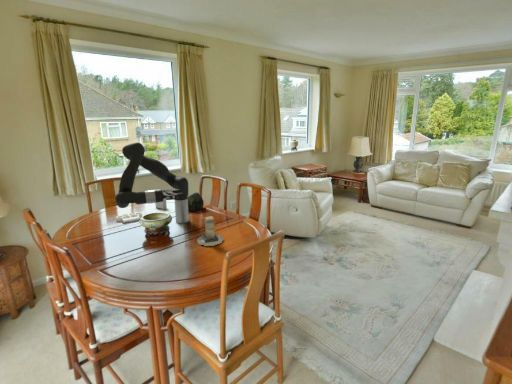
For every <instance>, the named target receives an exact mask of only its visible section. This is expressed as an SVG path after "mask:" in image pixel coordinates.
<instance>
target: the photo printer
mask: <svg viewBox="0 0 512 384" xmlns="http://www.w3.org/2000/svg"><path fill="white" fill-rule="evenodd" d="M154 204H155V208H158V209H161V210H166V209H167V200H166V198H164V199H163V202H157V203H154Z"/></svg>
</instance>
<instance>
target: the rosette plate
mask: <svg viewBox="0 0 512 384" xmlns="http://www.w3.org/2000/svg"><path fill="white" fill-rule="evenodd" d="M214 234H215V238H210V239H206V235H205V234H202V235H200V236H199V237H197V239H196V243H197V244H198V245H199V244H200V245H199V246H201V245H204V246H203V247H205V246H211V245H216V244H219V243H221V242H222V241H223V242H224V237H223V236H221V235H219V234H216V233H215V232H214ZM223 242H222V243H223ZM222 243H221V244H222Z"/></svg>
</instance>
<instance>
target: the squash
mask: <svg viewBox="0 0 512 384" xmlns="http://www.w3.org/2000/svg"><path fill="white" fill-rule="evenodd" d="M204 203H205V202H204V199H203V197H202V196H201V194H200V193H199V192H194V193H192V194H191V195H188V211H197V210H201V209H203V208H204V205H205V204H204Z"/></svg>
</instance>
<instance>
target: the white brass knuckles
mask: <svg viewBox="0 0 512 384" xmlns="http://www.w3.org/2000/svg"><path fill="white" fill-rule="evenodd" d="M141 217H142V218H143V213H142V212H140V211H137V212H130V213H124V214H121V215H120V214H119V215H116V217H115V220H116V222H119V223H120V222H121V223H122V224H126V223H131V222H137V221H140V220H141V219H142V218H141ZM139 219H140V220H139Z"/></svg>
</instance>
